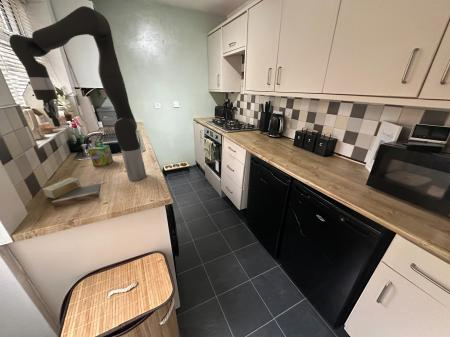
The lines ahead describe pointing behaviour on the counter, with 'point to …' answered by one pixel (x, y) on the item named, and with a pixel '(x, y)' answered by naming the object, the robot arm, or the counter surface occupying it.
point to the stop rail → (74, 199)
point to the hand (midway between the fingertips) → (57, 126)
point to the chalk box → (100, 154)
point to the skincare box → (61, 187)
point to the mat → (81, 191)
